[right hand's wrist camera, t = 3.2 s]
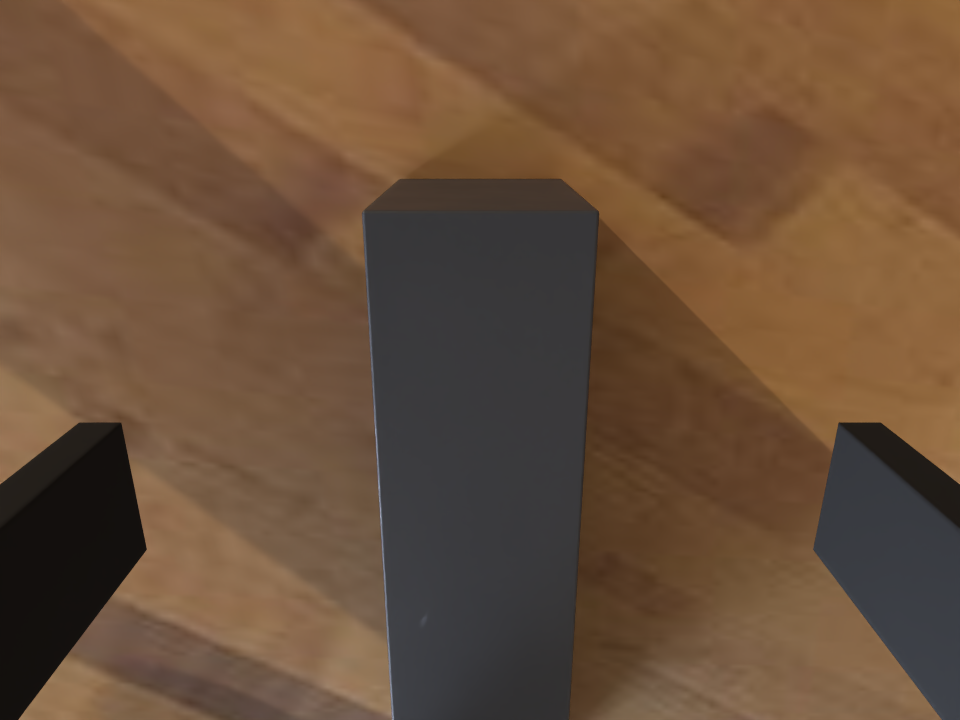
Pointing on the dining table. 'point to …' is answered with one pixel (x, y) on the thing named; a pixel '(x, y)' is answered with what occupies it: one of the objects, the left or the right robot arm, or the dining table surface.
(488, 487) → the charcoal box
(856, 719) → the dining table surface
